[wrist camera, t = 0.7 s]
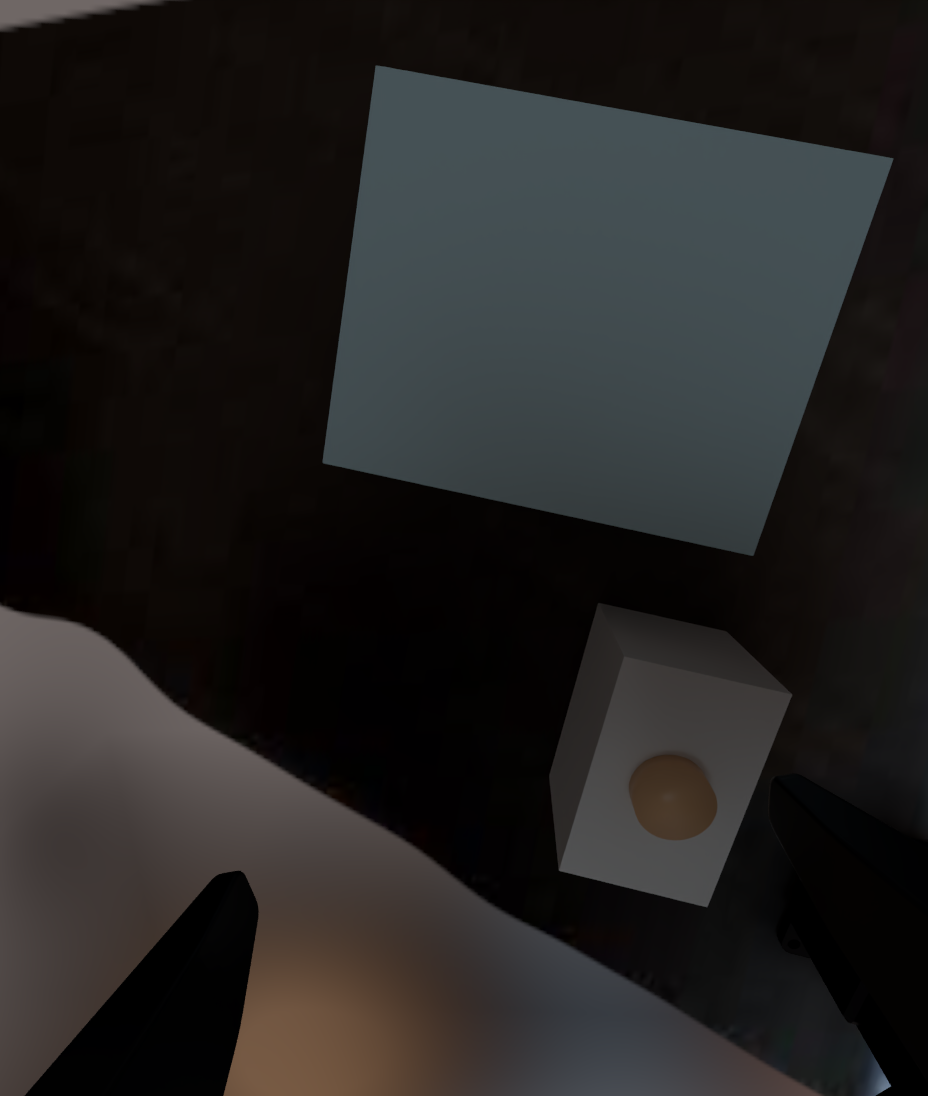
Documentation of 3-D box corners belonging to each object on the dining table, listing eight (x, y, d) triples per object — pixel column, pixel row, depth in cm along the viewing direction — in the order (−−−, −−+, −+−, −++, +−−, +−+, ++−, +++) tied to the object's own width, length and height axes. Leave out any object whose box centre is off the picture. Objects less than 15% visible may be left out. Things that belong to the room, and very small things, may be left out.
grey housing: (724, 629, 20) (807, 709, 14) (664, 801, 22) (716, 929, 16) (597, 601, 20) (630, 668, 15) (548, 773, 22) (560, 891, 17)
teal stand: (826, 206, 16) (893, 158, 14) (716, 536, 19) (753, 555, 16) (399, 127, 17) (375, 65, 14) (350, 457, 20) (322, 462, 17)
